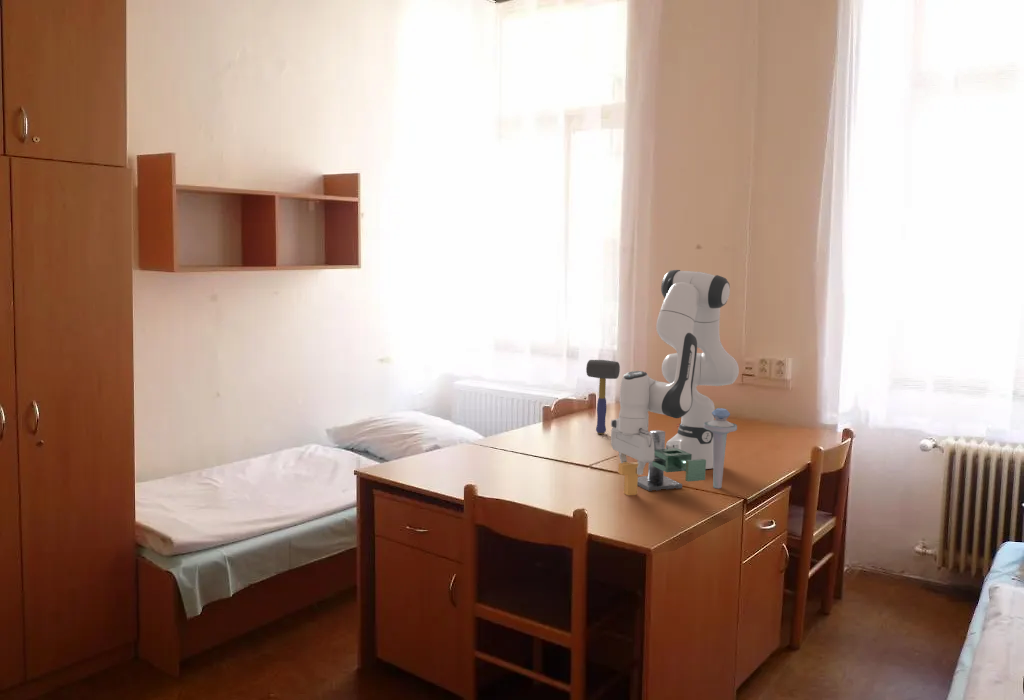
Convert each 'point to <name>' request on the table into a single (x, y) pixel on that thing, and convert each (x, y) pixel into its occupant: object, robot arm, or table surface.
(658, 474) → the bracket post
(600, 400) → the rubber mallet
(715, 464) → the novelty light stick
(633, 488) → the yellow t-shaped block
